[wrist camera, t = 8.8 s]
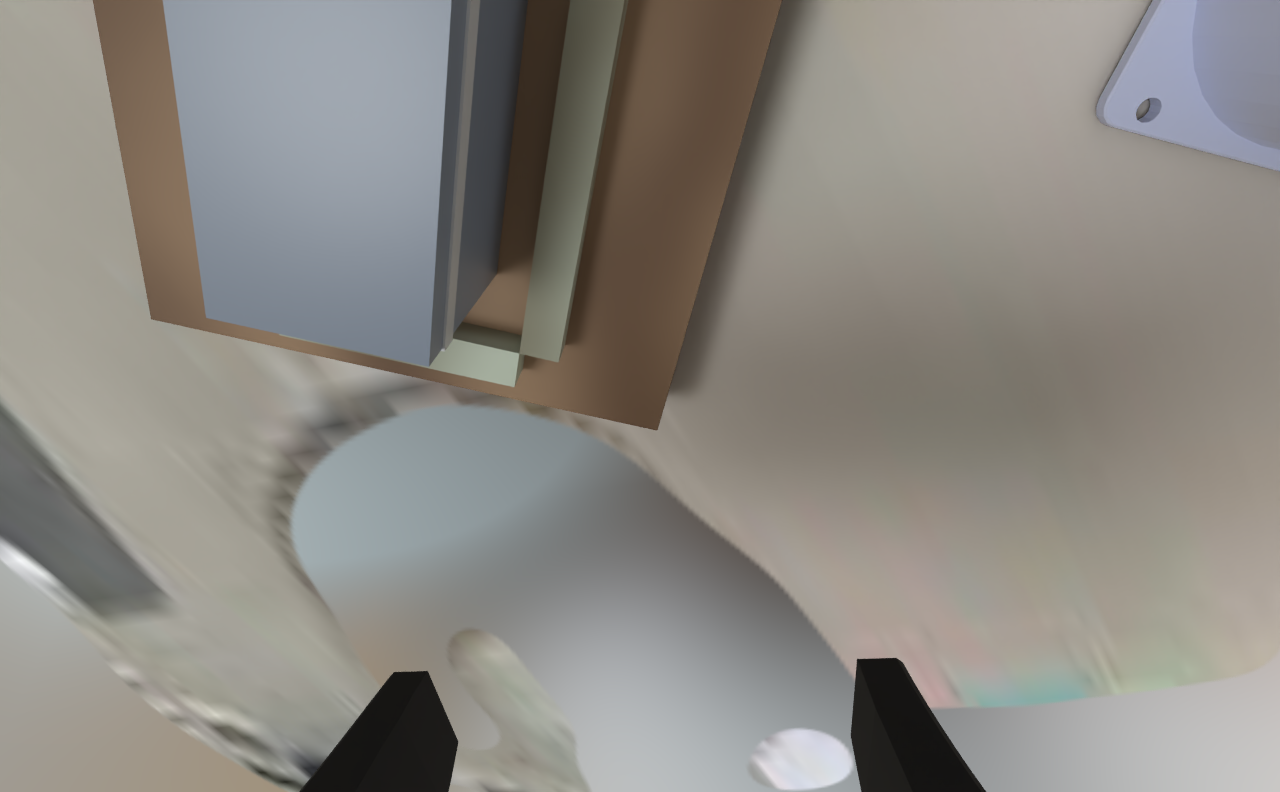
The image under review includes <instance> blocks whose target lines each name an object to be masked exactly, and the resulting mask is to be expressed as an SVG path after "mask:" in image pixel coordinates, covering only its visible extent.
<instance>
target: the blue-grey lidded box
mask: <svg viewBox="0 0 1280 792" xmlns="http://www.w3.org/2000/svg"><path fill="white" fill-rule="evenodd" d="M527 5H528V0H163V6H164V14H165V21H166V28H167V36H168V43H169V50H170V57H171V65H172V72H173V79H174V87H175V94H176V101H177V109H178V116H179V123H180V131H181V138H182V145H183V152H184V160H185V167H186V174H187V182H188V189H189V196H190V204H191V211H192V218H193V226H194V233H195V240H196V247H197V255H198V262H199V269H200V277H201V284H202V291H203V299H204V306H205V313H206V318H209V319H214V320H218V321H223V322H227V323H232V324H236V325H241V326H246V327H250V328H255V329H259V330H264V331H268V332H273V333H277V334H282V335H286V336H291V337H295V338H300V339H305V340H309V341H314V342H318V343H323V344H327V345H332V346H336V347H341V348H345V349H350V350H354V351H359V352H364V353H368V354H373V355H377V356H382V357H386V358H391V359H395V360H400V361H404V362H409V363H414V364H418V365H423V366H427V367H429V366H430V365H431V363H432V362H433V361H434V359H435V358H436V357H437V355H438V354H439V352H440V351H444V352H445V350H446V349H447V348H448V346H449V345H450V343H451V342H452V341H453V333H454V332H455V331H456V329H457V328H458V326H459V325H460V324H461V322H462V321H463V320H464V318H465V317H466V316H467V314H468V313H469V311H470V310H471V309H472V307H473V306H474V305H475V303H476V302H477V301H478V299H479V298H480V296H481V295H482V294H483V292H484V291H485V290H486V288H487V287H488V285H489V284H490V283H491V281H492V280H493V279H494V277H495V276H496V275H497V267H498V259H499V250H500V241H501V232H502V224H503V215H504V206H505V197H506V189H507V180H508V171H509V162H510V154H511V145H512V136H513V127H514V119H515V110H516V101H517V92H518V84H519V75H520V66H521V57H522V48H523V40H524V31H525V22H526V13H527Z"/></svg>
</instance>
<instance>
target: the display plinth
mask: <svg viewBox="0 0 1280 792" xmlns="http://www.w3.org/2000/svg"><path fill="white" fill-rule="evenodd" d="M781 2H782V0H528V5H527V13H526V22H525V31H524V40H523V48H522V57H521V66H520V75H519V84H518V92H517V101H516V110H515V119H514V127H513V136H512V145H511V154H510V162H509V171H508V180H507V189H506V197H505V206H504V215H503V224H502V232H501V241H500V250H499V259H498V267H497V275H496V276H495V277H494V279H493V280H492V281H491V283H490V284H489V285H488V287H487V288H486V290H485V291H484V292H483V294H482V295H481V296H480V298H479V299H478V301H477V302H476V303H475V305H474V306H473V307H472V309H471V310H470V311H469V313H468V314H467V316H466V317H465V318H464V320H463V321H462V322H461V324H460V325H459V326H458V328H457V329H456V331H455V332H454V333H453V341H452V342H451V343H450V345H449V346H448V348H447V349H446V350H445V352H444V351H440V352H439V354H438V355H437V357H436V358H435V359H434V361H433V362H432V363H431V365H430V366H429V367H427V366H423V365H418V364H414V363H409V362H404V361H400V360H395V359H391V358H386V357H382V356H377V355H373V354H368V353H364V352H359V351H354V350H350V349H345V348H341V347H336V346H332V345H327V344H323V343H318V342H314V341H309V340H305V339H300V338H295V337H291V336H286V335H282V334H277V333H273V332H268V331H264V330H259V329H255V328H250V327H246V326H241V325H236V324H232V323H227V322H223V321H218V320H214V319H209V318H206V313H205V306H204V299H203V291H202V284H201V277H200V269H199V262H198V255H197V247H196V240H195V233H194V226H193V218H192V211H191V204H190V196H189V189H188V182H187V174H186V167H185V160H184V152H183V145H182V138H181V131H180V123H179V116H178V109H177V101H176V94H175V87H174V79H173V72H172V65H171V57H170V50H169V43H168V36H167V28H166V21H165V14H164V6H163V0H93V4H94V9H95V15H96V20H97V26H98V31H99V37H100V42H101V48H102V53H103V58H104V64H105V69H106V75H107V80H108V86H109V91H110V97H111V102H112V107H113V113H114V118H115V124H116V129H117V135H118V140H119V146H120V151H121V157H122V162H123V167H124V173H125V178H126V184H127V189H128V195H129V200H130V206H131V211H132V216H133V222H134V227H135V233H136V238H137V244H138V249H139V255H140V260H141V266H142V271H143V276H144V282H145V287H146V293H147V298H148V304H149V309H150V315H151V319H153V320H158V321H162V322H167V323H171V324H176V325H180V326H185V327H189V328H194V329H199V330H203V331H208V332H212V333H217V334H221V335H226V336H230V337H235V338H239V339H244V340H248V341H253V342H258V343H262V344H267V345H271V346H276V347H280V348H285V349H289V350H294V351H298V352H303V353H307V354H312V355H317V356H321V357H326V358H330V359H335V360H339V361H344V362H348V363H353V364H357V365H362V366H367V367H371V368H376V369H380V370H385V371H389V372H394V373H398V374H403V375H407V376H412V377H416V378H421V379H426V380H430V381H435V382H439V383H444V384H448V385H453V386H457V387H462V388H466V389H471V390H475V391H480V392H485V393H489V394H494V395H498V396H503V397H507V398H512V399H516V400H521V401H525V402H530V403H535V404H539V405H544V406H548V407H553V408H557V409H562V410H566V411H571V412H575V413H580V414H584V415H589V416H594V417H598V418H603V419H607V420H612V421H616V422H621V423H625V424H630V425H634V426H639V427H643V428H648V429H653V430H658V426H659V423H660V419H661V416H662V412H663V409H664V406H665V402H666V399H667V395H668V392H669V388H670V385H671V381H672V378H673V375H674V371H675V368H676V364H677V361H678V357H679V354H680V350H681V347H682V343H683V340H684V337H685V333H686V330H687V326H688V323H689V319H690V316H691V312H692V309H693V306H694V302H695V299H696V295H697V292H698V288H699V285H700V281H701V278H702V275H703V271H704V268H705V264H706V261H707V257H708V254H709V250H710V247H711V244H712V240H713V237H714V233H715V230H716V226H717V223H718V219H719V216H720V213H721V209H722V206H723V202H724V199H725V195H726V192H727V188H728V185H729V182H730V178H731V175H732V171H733V168H734V164H735V161H736V157H737V154H738V151H739V147H740V144H741V140H742V137H743V133H744V130H745V126H746V123H747V119H748V116H749V113H750V109H751V106H752V102H753V99H754V95H755V92H756V88H757V85H758V82H759V78H760V75H761V71H762V68H763V64H764V61H765V57H766V54H767V51H768V47H769V44H770V40H771V37H772V33H773V30H774V26H775V23H776V20H777V16H778V13H779V9H780V6H781Z"/></svg>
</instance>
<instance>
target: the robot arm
mask: <svg viewBox="0 0 1280 792" xmlns="http://www.w3.org/2000/svg"><path fill="white" fill-rule="evenodd" d="M1148 98H1149V100H1150V104H1151V105H1150V108H1149V111H1148V112H1147V113H1146V114H1145V116H1144V117H1142V118H1140V119H1138V120H1137V117H1136V111H1137V108H1138V107H1139V105H1140V104H1141V103H1142V102H1143V101H1145V100H1146V99H1148ZM1096 113H1097V117H1098V119H1099V121H1100V122H1101V123H1103V124H1105V125H1106V126H1110V127H1114V128H1117V129H1121V130H1125V131H1129V132H1133V133H1136V134H1140V135H1144V136H1148V137H1151V138H1155V139H1159V140H1163V141H1166V142H1170V143H1174V144H1178V145H1181V146H1185V147H1189V148H1193V149H1197V150H1200V151H1204V152H1208V153H1212V154H1215V155H1219V156H1223V157H1227V158H1230V159H1234V160H1238V161H1242V162H1245V163H1249V164H1253V165H1257V166H1261V167H1264V168H1268V169H1272V170H1276V171H1279V172H1280V0H1153V1H1152V3H1151V4H1150V6H1149V8H1148V10H1147V12H1146V14H1145V15H1144V17H1143V19H1142V21H1141V23H1140V25H1139V26H1138V28H1137V30H1136V32H1135V34H1134V36H1133V37H1132V39H1131V41H1130V43H1129V45H1128V47H1127V48H1126V50H1125V52H1124V54H1123V56H1122V58H1121V59H1120V61H1119V63H1118V65H1117V67H1116V69H1115V70H1114V72H1113V74H1112V76H1111V78H1110V80H1109V81H1108V83H1107V85H1106V87H1105V89H1104V91H1103V92H1102V94H1101V96H1100V98H1099V101H1098V104H1097V106H1096ZM851 739H852V745H853V750H854V755H855V760H856V766H857V771H858V776H859V781H860V786H861V791H862V792H986V791H985V790H984V788H983V787H982V785H981V784H980V783H979V781H978V780H977V778H976V777H975V776H974V774H973V773H972V771H971V770H970V769H969V767H968V766H967V764H966V763H965V761H964V760H963V759H962V757H961V755H960V754H959V752H958V751H957V750H956V748H955V747H954V745H953V743H952V742H951V740H950V739H949V737H948V736H947V734H946V733H945V731H944V730H943V728H942V727H941V725H940V724H939V722H938V721H937V719H936V717H935V716H934V714H933V713H932V711H931V709H930V708H929V706H928V705H927V703H926V701H925V700H924V698H923V697H922V695H921V693H920V692H919V690H918V688H917V687H916V685H915V683H914V681H913V680H912V678H911V676H910V675H909V673H908V671H907V669H906V667H905V666H904V664H903V663H902V662H901V661H900V660H898V659H897V658H880V659H857V667H856V679H855V692H854V703H853V716H852V727H851ZM457 746H458V740H457V738H456V735H455V733H454V731H453V728H452V726H451V724H450V722H449V719H448V717H447V715H446V712H445V710H444V708H443V705H442V703H441V701H440V698H439V696H438V694H437V692H436V689H435V687H434V685H433V683H432V680H431V678H430V675H429V673H428V671H417V672H394V673H393V674H392V675H391V676H390V677H389V679H388V680H387V681H386V682H385V684H384V685H383V686H382V688H381V689H380V690H379V691H378V693H377V694H376V695H375V696H374V698H373V699H372V700H371V702H370V703H369V704H368V706H367V707H366V708H365V709H364V711H363V712H362V713H361V715H360V716H359V717H358V719H357V720H356V721H355V722H354V724H353V725H352V726H351V728H350V729H349V730H348V731H347V733H346V734H345V735H344V737H343V738H342V739H341V740H340V742H339V743H338V744H337V745H336V747H335V748H334V749H333V751H332V752H331V753H330V754H329V756H328V757H327V758H326V760H325V761H324V762H323V763H322V764H321V766H320V767H319V768H318V769H317V771H316V772H315V773H314V774H313V776H312V777H311V778H310V779H309V781H308V782H307V783H306V784H305V785H304V787H303V788H302V789H301V790H300V792H448V791H449V786H450V782H451V777H452V772H453V767H454V762H455V756H456V751H457Z"/></svg>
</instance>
